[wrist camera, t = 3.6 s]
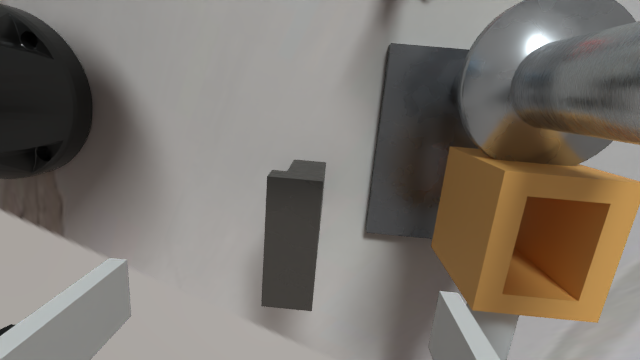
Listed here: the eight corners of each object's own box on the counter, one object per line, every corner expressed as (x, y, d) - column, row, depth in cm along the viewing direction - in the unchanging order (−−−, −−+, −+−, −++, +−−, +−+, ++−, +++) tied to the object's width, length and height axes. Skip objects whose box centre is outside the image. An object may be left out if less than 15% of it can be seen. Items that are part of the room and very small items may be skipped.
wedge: (290, 221, 33) (261, 306, 19) (295, 141, 30) (267, 176, 17) (320, 223, 32) (311, 311, 19) (327, 144, 30) (323, 181, 17)
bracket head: (411, 349, 29) (440, 444, 21) (449, 146, 24) (505, 170, 16) (491, 357, 29) (550, 455, 21) (545, 154, 24) (646, 183, 16)
